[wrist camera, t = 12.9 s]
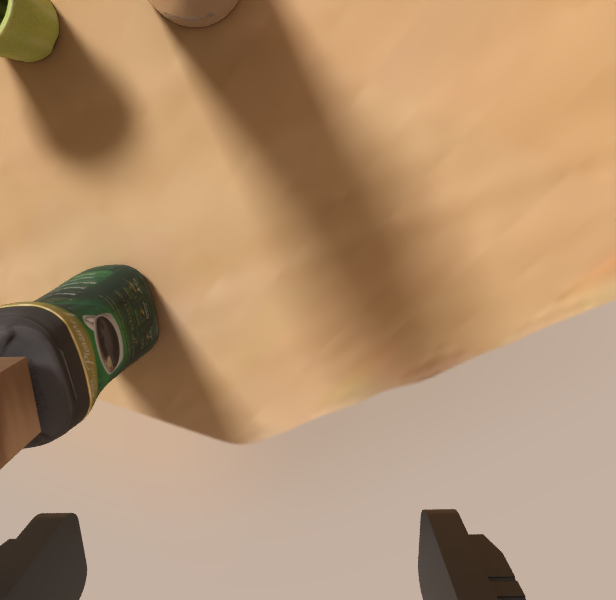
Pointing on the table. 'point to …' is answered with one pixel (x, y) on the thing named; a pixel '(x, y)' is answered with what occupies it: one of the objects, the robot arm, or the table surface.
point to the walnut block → (16, 408)
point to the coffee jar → (79, 341)
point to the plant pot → (27, 29)
